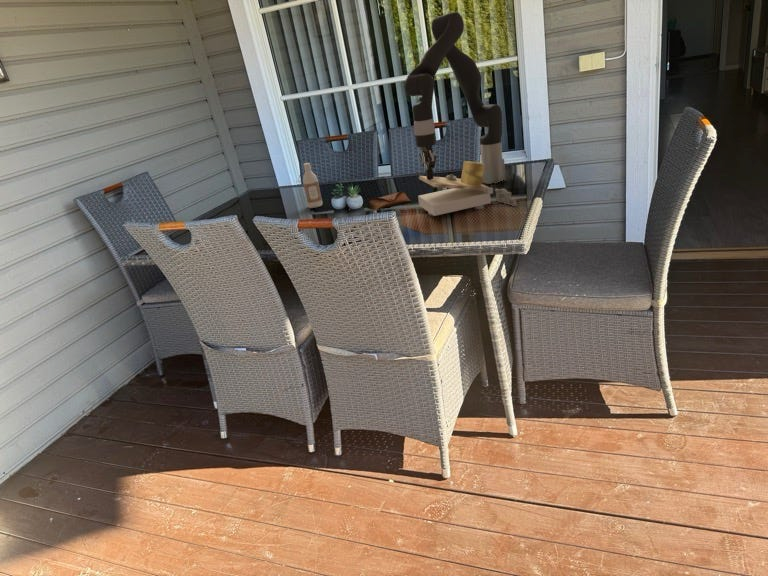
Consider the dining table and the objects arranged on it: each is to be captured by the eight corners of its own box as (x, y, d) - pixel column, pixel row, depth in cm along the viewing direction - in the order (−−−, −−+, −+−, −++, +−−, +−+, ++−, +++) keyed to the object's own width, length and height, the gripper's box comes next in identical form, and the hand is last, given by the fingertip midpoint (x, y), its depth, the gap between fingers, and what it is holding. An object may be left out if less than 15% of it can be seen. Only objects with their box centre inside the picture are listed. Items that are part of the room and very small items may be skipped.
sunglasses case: (375, 210, 218) (370, 196, 219) (371, 216, 225) (366, 201, 225) (413, 200, 223) (408, 186, 224) (408, 206, 230) (403, 192, 231)
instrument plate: (470, 182, 210) (474, 159, 207) (490, 191, 194) (494, 165, 191) (418, 179, 204) (421, 155, 201) (434, 187, 188) (437, 161, 184)
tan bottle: (309, 209, 238) (299, 166, 230) (307, 205, 245) (298, 163, 236) (323, 206, 239) (314, 163, 231) (322, 202, 246) (313, 161, 237)
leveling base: (471, 197, 214) (470, 178, 211) (494, 208, 195) (492, 188, 192) (418, 209, 210) (416, 190, 207) (436, 222, 191) (433, 201, 188)
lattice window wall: (517, 206, 193) (516, 191, 191) (513, 207, 193) (512, 192, 191) (498, 200, 204) (497, 186, 201) (494, 202, 203) (493, 187, 201)
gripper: (440, 132, 183) (445, 180, 190) (428, 129, 195) (433, 174, 202) (420, 136, 182) (426, 184, 189) (409, 132, 194) (415, 178, 201)
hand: (430, 179), depth 196 cm, fingers closed
